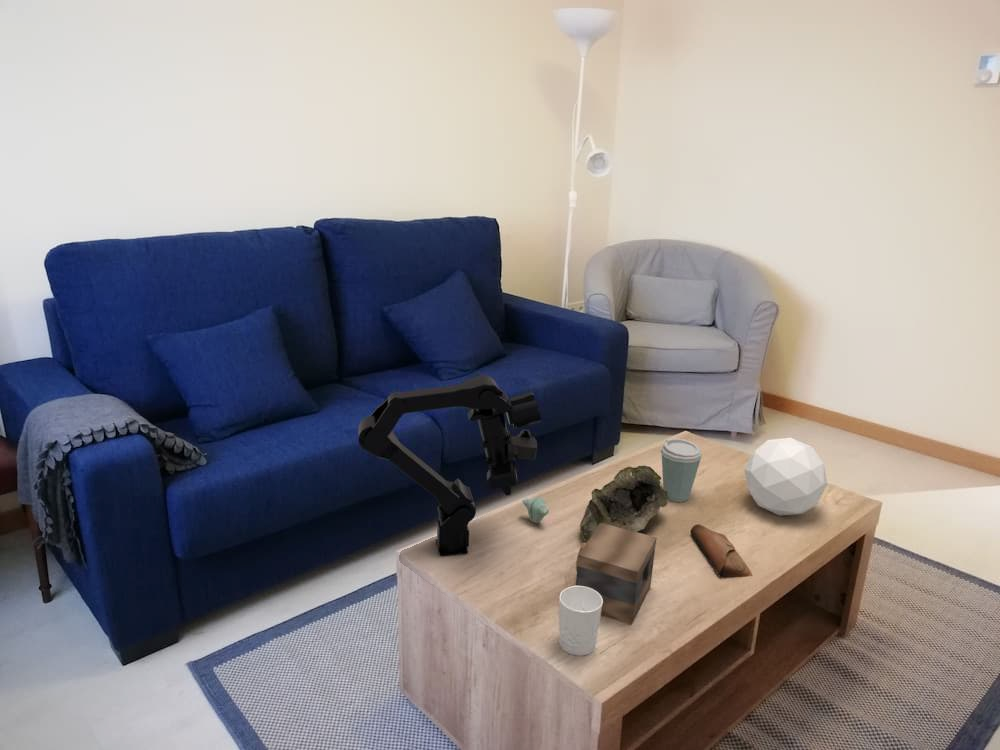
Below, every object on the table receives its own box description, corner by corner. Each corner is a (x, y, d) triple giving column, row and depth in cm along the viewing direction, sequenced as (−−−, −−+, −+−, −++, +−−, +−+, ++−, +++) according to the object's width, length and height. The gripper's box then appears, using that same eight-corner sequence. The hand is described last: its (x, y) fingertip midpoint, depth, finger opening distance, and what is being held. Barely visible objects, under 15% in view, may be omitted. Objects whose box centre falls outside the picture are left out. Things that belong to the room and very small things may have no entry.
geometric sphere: (785, 543, 186) (797, 509, 170) (725, 490, 197) (731, 454, 181) (835, 497, 191) (852, 460, 175) (774, 448, 202) (784, 409, 186)
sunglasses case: (756, 577, 159) (745, 554, 157) (727, 592, 160) (716, 570, 158) (722, 533, 176) (712, 512, 174) (696, 547, 177) (686, 526, 174)
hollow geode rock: (649, 523, 189) (621, 471, 193) (685, 506, 180) (655, 451, 184) (581, 561, 170) (551, 502, 173) (618, 543, 161) (585, 482, 165)
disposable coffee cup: (701, 495, 195) (709, 443, 190) (688, 511, 186) (695, 457, 181) (663, 483, 200) (670, 433, 195) (649, 499, 191) (655, 446, 187)
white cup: (587, 664, 132) (591, 617, 128) (548, 647, 135) (551, 601, 132) (605, 640, 138) (609, 595, 135) (567, 624, 142) (571, 580, 139)
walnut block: (573, 606, 147) (578, 554, 143) (596, 571, 159) (600, 522, 155) (632, 625, 142) (638, 571, 139) (650, 587, 154) (656, 537, 151)
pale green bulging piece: (518, 518, 179) (520, 493, 177) (530, 513, 182) (531, 488, 180) (542, 531, 174) (543, 506, 172) (553, 526, 177) (555, 501, 174)
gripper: (533, 444, 149) (547, 509, 155) (528, 408, 167) (540, 467, 172) (480, 455, 150) (495, 519, 155) (480, 417, 167) (494, 476, 173)
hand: (508, 494), depth 164 cm, fingers closed
